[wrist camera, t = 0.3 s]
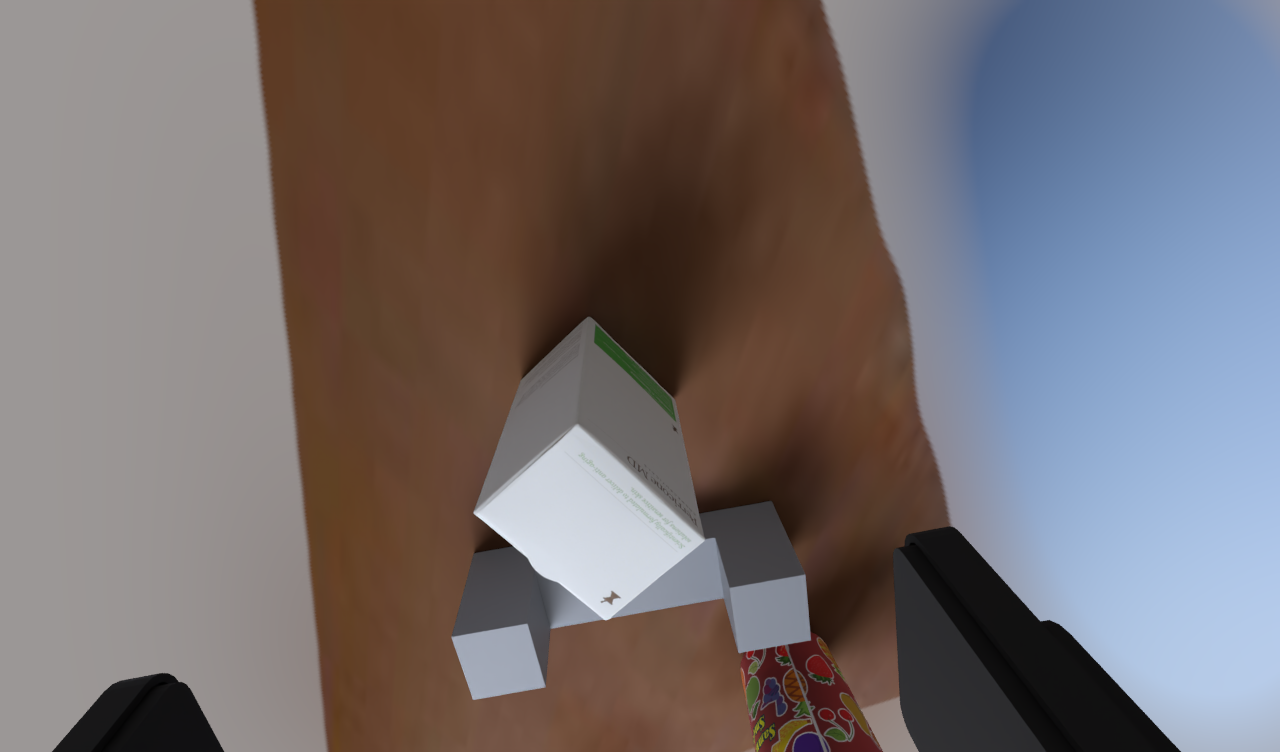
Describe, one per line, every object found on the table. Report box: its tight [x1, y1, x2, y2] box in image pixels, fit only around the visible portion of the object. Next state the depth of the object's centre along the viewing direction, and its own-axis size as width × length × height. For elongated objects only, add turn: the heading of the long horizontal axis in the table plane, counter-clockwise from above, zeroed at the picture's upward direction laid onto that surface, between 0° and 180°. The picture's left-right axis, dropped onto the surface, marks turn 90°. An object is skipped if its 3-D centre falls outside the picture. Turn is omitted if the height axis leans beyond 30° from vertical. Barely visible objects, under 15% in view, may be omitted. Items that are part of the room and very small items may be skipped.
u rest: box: [452, 501, 811, 700], centre depth 44 cm, size 5×21×8 cm, turn 99°
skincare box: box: [474, 317, 705, 620], centre depth 36 cm, size 8×7×16 cm
